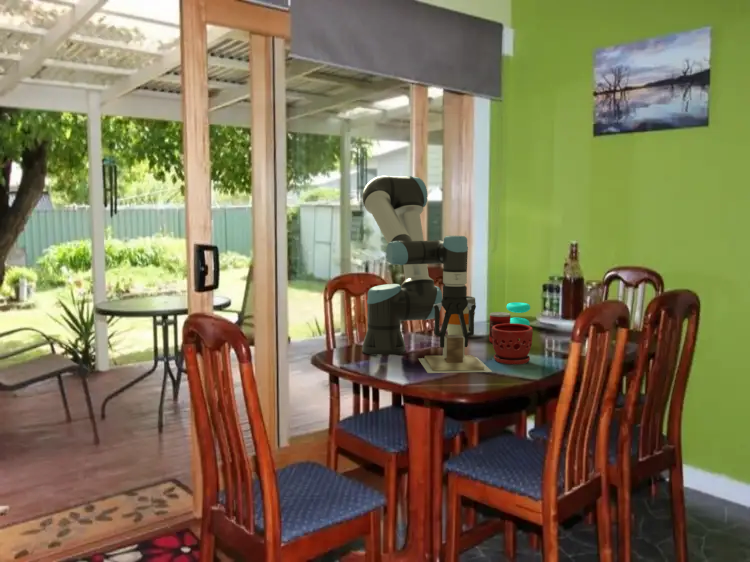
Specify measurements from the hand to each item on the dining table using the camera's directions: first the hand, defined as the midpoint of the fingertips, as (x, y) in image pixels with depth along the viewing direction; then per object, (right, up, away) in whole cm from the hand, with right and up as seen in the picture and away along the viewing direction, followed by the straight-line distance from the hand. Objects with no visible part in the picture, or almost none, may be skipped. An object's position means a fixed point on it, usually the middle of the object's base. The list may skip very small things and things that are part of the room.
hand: (453, 357), depth 216 cm
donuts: (+36, +5, +73) cm, 82 cm away
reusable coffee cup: (+8, +3, +54) cm, 54 cm away
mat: (0, -3, 0) cm, 3 cm away
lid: (0, -2, 0) cm, 2 cm away
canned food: (+22, +1, +39) cm, 45 cm away
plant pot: (+20, -3, +6) cm, 21 cm away
